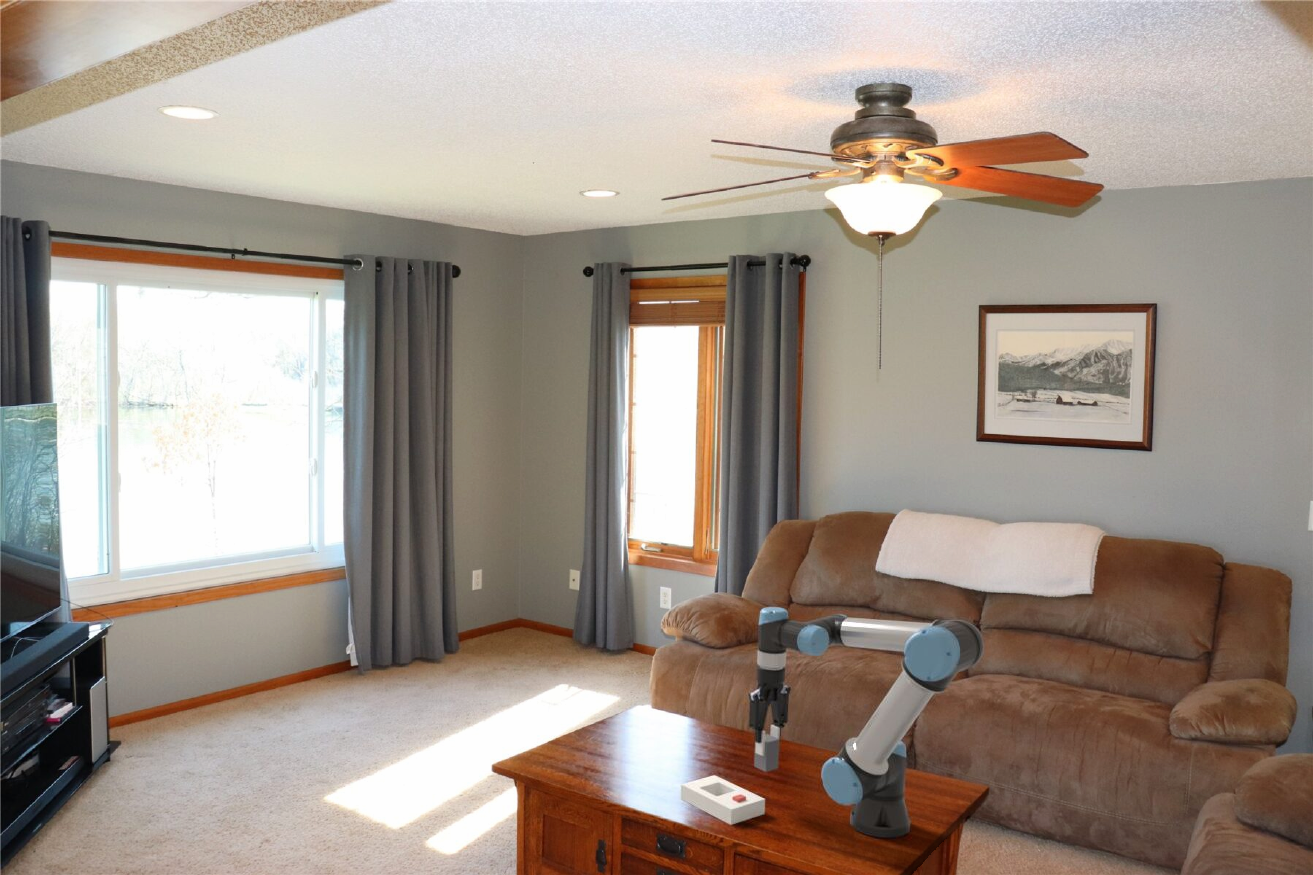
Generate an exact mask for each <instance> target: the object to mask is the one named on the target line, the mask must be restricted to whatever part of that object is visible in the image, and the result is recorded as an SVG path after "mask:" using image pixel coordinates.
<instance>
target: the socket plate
mask: <svg viewBox="0 0 1313 875" xmlns="http://www.w3.org/2000/svg"><path fill="white" fill-rule="evenodd" d="M680 799H681V800H682V801H684V802H686V803H687V804H690V805H692V806H694V807H695V808H697V809H699V810H701V811H703V812H705V813H708V814H709V815H711V816H713V817H715V818H717V819H719V820H720V821H723V822H724V823H726V824H728V825H731V826H732V825H734V824H737V823H741V822H744V821H747V820H750V819H752V818H753V819H754V818H756V817H759V816H762V815H765V812H766V811H765V810H766V806H765V805H766V798H763V797H762V796H760V795H757V794H756V793H753V792H751V791H749V790H747V789H746V788H742V787H740V786H738V785H736V784H734V783H732V782H730V781H728V780H726V779H723V778H721V777H720V776H717V775H715V774H713V775H710V776H707V777H703V778H700V779H696V780H695V779H694V780H693V781H689V782H685V783H681V786H680Z"/></svg>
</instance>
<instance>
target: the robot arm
mask: <svg viewBox="0 0 1313 875" xmlns="http://www.w3.org/2000/svg"><path fill="white" fill-rule="evenodd" d="M757 626H758V646H757V657H756V658H757V662H756V663H757V666H756V678H755V679H756V680H757V682H758V684H757V686H756V690H754V691H749V692H748V700H749V713H748V715H749V717H748V718H749V719H748V728H749V729H751V730H754V743H755V742H756V749H755V748H754V754H755V753H757V754H759V755H761V756H764V753H765V735H766V730H764V728H765V723H766V719H767V714H768V710H769V707H770V709H771V715H772V716H771V717H772V724H770V733H769V735H771V736H773V737H775V738H778V739H779V740H780V739H781V736H782V729H784V727H785V726H786V725H785V724H787V723H788V718H789V716H788V715H789V700H790V699H789V698H790V695H791V691H792V688H791V686H787V685H785V684H784V683H785V680H786V668H785V667H786V664H787V663H786V662H787V649H788V650H789V651H790V650H791V651H794V652H798V653H802V654H804V655H807V656H815V657H820V656H821V655H823V654H824V652H826V651H827V649H828V648H829V647H831V646H840V647H841V646H842V647H853V648H863V649H871V650H872V649H873V650H884V651H893V652H894V651H895V652H903V654H904V657H903V659H902V660H901V668H902V671H901V673H900V674H899V676H898V678H897V679H896V681H895V682H894V683H893V685H892V686H891V688H890V689H889V690H888V692H887V694H886V695H885V697H884V698H883V699H882V701H881V702H880V704H879V705H878V707H877V708H876V710H875V711H874V713H873V714H872V715H871V717H870V718H869V720H868V721H867V723H866V724H865V726H864V727H863V728H862V730H861V731H860V733H859V734H858V736H857V737H856V736H854V737H851V738H849V739H847V740H846V742H845V743H844V745H843V747H842V748H841V750H840V751H839V752H838V754H837V755H836V756H834V757H830V758H829V759H827V761H825V762H824V763H823V765H822V768H821V774H820V775H821V780H822V782H823V783H822V785H823V787H824V790H825V792H826V793H827V795H828V796H829V798H831V799H832V800H833V801H834V802H836V803H837V804H839V805H842V806H852V805H853V806H852V809H851V811H850V817H849V819H850V820H849V822H850V825H851V827H852V828H853V829H854V830H856V831H857V832H859V833H862V834H864V835H867V836H871V837H876V838H882V839H883V838H885V839H891V838H894V839H895V838H900V837H903V836H905V834H906V835H907V834H909V832H910V830H911V819H910V816H909V814H908V809H907V805H906V804H907V803H906V801H905V787H906V785H905V784H906V770H907V769H906V768H907V766H906V765H907V746H906V744H905V743H904V741H902V739H903V738H904V736H905V735H906V734H907V732H908V730H909V729H910V728H911V727H912V725H913V723H915V721H916V720H917V718H918V717H919V716H920V714H921V713H922V711H923V710H924V708H925V707H926V705H927V704H928V703H929V701H930V700H931V698H932V697H933V695H934V694H940V693H943V692H945V690H946V689H947V688H948V687H949V685H950V683H951V682H952V681H953V679H954V678H955V677H956V675H957V674H959V672H962V671H965V670H968V669H970V668H972V667H973V666H975V665H976V664H978V663H979V662H980V660H981V658H982V657H983V655H984V652H985V651H984V650H985V641H984V637H983V635H982V633H981V631H980V630H979V628H977V627H976V626H975V625H974V624H972V623H971V622H969V621H966V620H963V619H947V620H946V619H935V620H934V621H933V622H932V623H931V622H929V623H928V622H918V621H904V620H889V619H875V618H874V619H872V618H860V617H849V616H848V615H845V614H832V615H829V616H826V617H821V618H817V619H813V620H810V621H805V622H803V621H802V622H801V621H796V620H793V619H791V618H789V612H788V610H787V609H786V608H783V607H777V606H767V607H763V608H762V609H761V610H760V611H759V619H758V624H757Z"/></svg>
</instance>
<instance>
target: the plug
mask: <svg viewBox="0 0 1313 875" xmlns="http://www.w3.org/2000/svg"><path fill="white" fill-rule="evenodd" d="M755 749H756V742H755V741H754V750H755ZM779 754H780V738H779V739H778V738H775V737H773V736H771V735H770V733H769V734H768V733H765V753H764V756H761V755H759V754H757V753H755V752H754V758H753V759H754V760H753V761H754V762H753V766H754V767H755V768H757V769H758V770H761V771H763V772H764V773H767V772H771V771H773V770H777V769H779V758H780V757H779V756H780V755H779Z"/></svg>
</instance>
